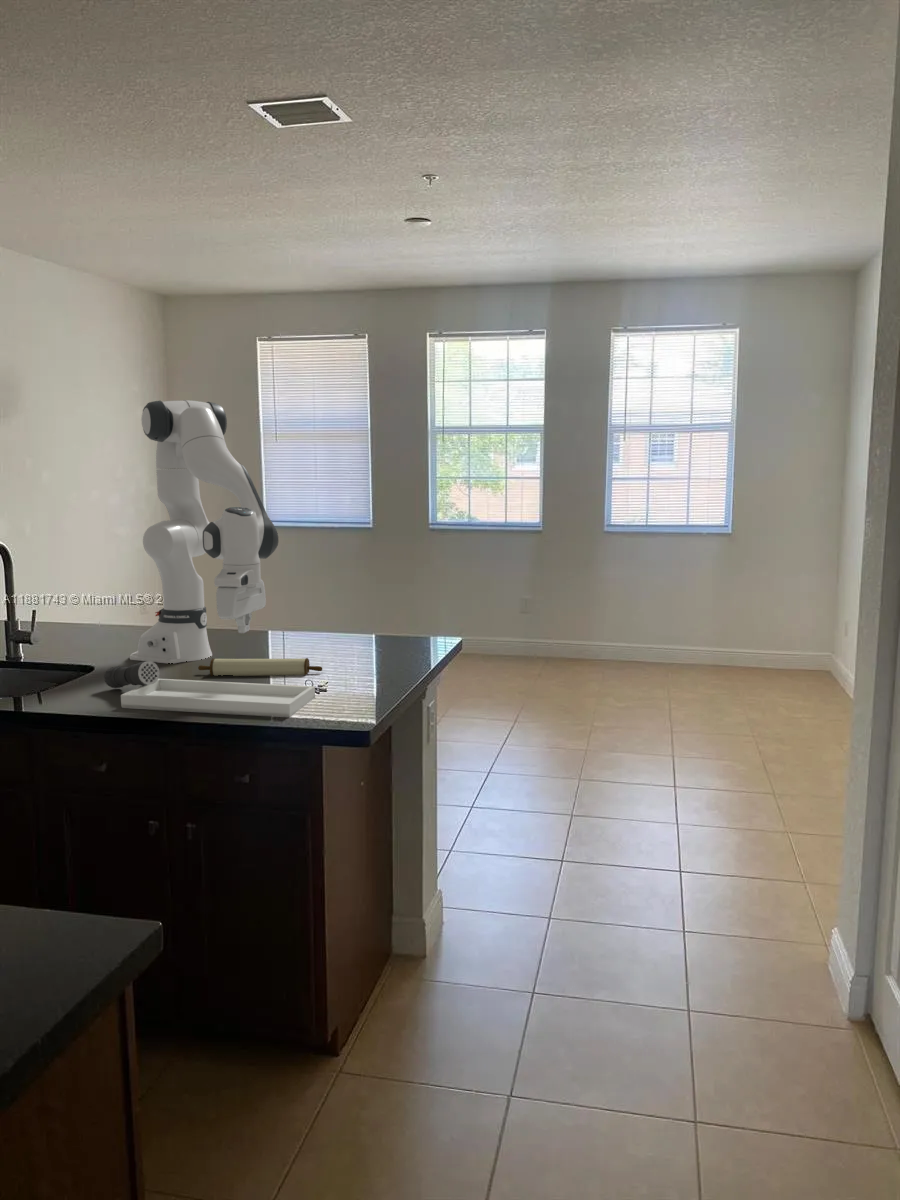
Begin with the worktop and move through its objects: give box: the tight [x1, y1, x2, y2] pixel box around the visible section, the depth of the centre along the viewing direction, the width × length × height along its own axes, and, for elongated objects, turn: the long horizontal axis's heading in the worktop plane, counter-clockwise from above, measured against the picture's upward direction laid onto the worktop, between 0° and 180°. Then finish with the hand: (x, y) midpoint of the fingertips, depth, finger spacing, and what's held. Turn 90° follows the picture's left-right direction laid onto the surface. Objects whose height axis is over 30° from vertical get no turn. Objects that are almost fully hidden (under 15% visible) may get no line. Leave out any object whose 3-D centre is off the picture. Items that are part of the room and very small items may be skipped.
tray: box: [120, 678, 316, 718], centre depth 200 cm, size 40×16×3 cm, turn 79°
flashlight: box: [104, 661, 160, 689], centre depth 208 cm, size 15×5×5 cm
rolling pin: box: [197, 657, 323, 677], centre depth 226 cm, size 32×6×5 cm, turn 90°
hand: (243, 632), depth 212 cm, fingers closed
